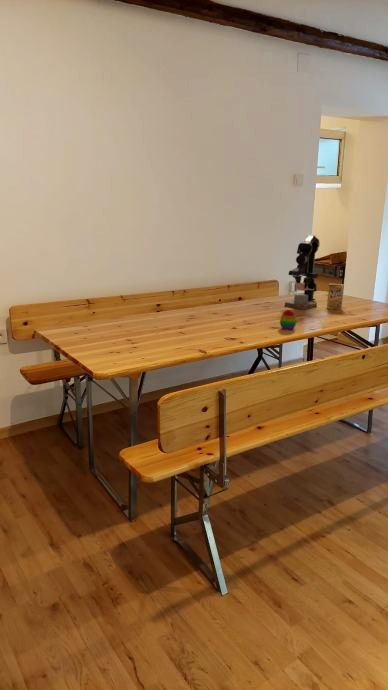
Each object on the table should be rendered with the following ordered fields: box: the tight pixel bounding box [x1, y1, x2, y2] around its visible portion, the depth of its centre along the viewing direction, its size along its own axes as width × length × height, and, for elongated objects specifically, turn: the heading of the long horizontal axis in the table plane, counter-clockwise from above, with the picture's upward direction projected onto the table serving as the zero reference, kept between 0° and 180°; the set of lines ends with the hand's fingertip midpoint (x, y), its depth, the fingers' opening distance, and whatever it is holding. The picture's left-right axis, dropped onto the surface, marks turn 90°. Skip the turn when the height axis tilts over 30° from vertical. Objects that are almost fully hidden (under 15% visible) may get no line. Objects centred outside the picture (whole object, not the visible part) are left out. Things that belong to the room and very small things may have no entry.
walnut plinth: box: [284, 300, 318, 311], centre depth 320 cm, size 14×14×2 cm
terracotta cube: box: [295, 281, 308, 292], centre depth 317 cm, size 5×5×4 cm
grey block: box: [293, 293, 309, 304], centre depth 319 cm, size 6×6×5 cm
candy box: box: [326, 283, 345, 311], centre depth 315 cm, size 9×4×15 cm, turn 70°
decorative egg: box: [279, 309, 297, 331], centre depth 264 cm, size 8×8×10 cm
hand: (301, 288), depth 318 cm, fingers closed on terracotta cube, 5 cm apart
